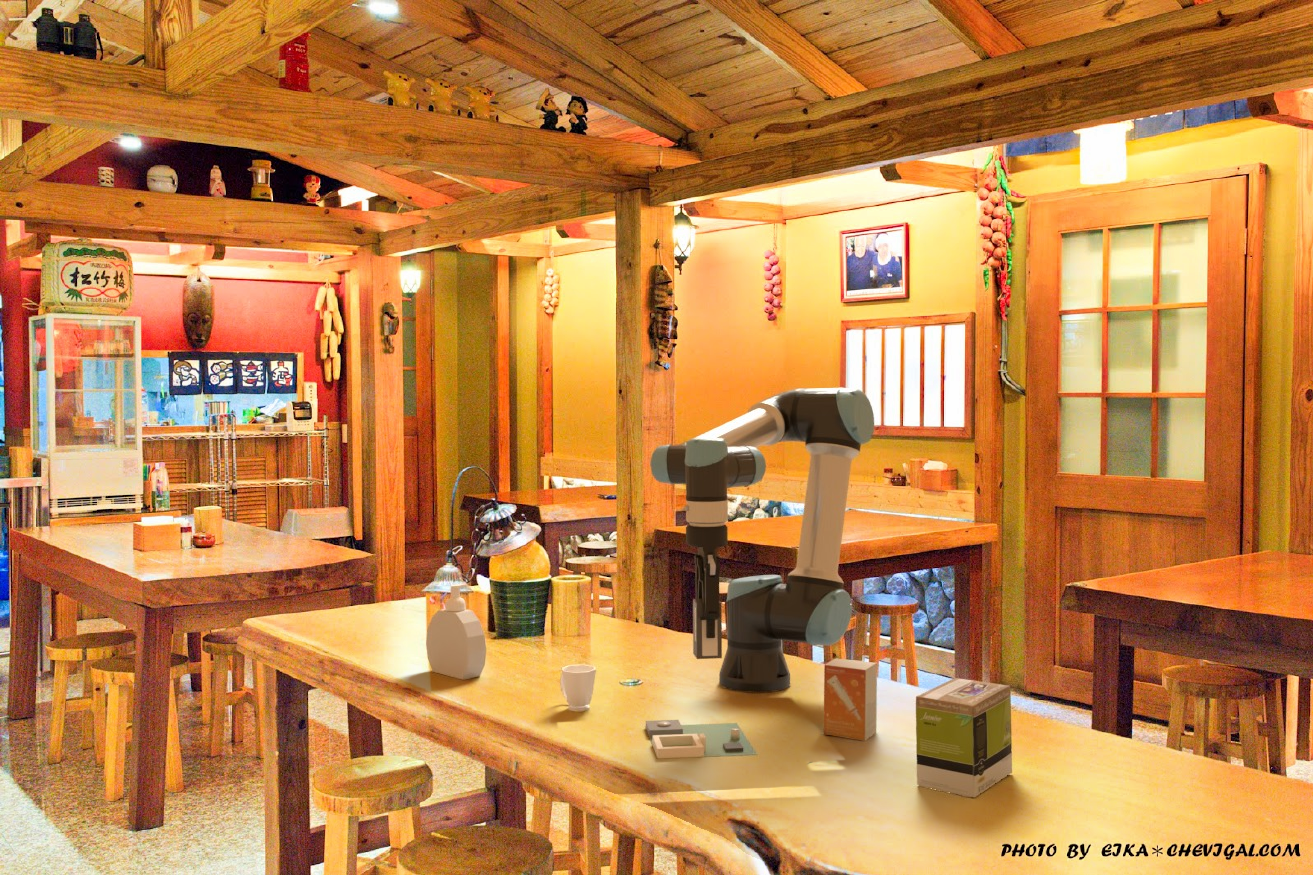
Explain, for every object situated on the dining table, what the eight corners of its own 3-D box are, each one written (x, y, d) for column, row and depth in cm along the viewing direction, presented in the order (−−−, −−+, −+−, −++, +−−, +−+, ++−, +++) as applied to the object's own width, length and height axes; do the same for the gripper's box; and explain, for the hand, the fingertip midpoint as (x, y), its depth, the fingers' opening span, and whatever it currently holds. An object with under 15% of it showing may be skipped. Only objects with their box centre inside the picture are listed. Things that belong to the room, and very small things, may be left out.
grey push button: (678, 733, 210) (678, 718, 210) (685, 748, 201) (685, 733, 201) (645, 734, 210) (645, 719, 209) (651, 750, 200) (651, 734, 200)
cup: (573, 715, 222) (572, 674, 222) (546, 704, 230) (546, 664, 230) (603, 709, 227) (603, 669, 226) (576, 699, 235) (576, 659, 234)
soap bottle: (488, 677, 253) (487, 587, 252) (469, 682, 249) (468, 590, 248) (445, 666, 264) (444, 580, 263) (425, 670, 260) (424, 582, 259)
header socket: (701, 742, 200) (701, 728, 200) (708, 756, 193) (708, 742, 193) (652, 744, 199) (652, 730, 199) (657, 758, 192) (657, 744, 192)
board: (736, 729, 212) (736, 714, 212) (757, 761, 194) (757, 745, 193) (645, 732, 211) (645, 717, 210) (657, 765, 192) (657, 749, 192)
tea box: (955, 762, 193) (955, 675, 192) (1013, 775, 186) (1014, 684, 186) (914, 786, 181) (914, 693, 181) (974, 800, 175) (975, 704, 174)
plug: (717, 652, 210) (717, 598, 210) (721, 658, 206) (721, 602, 205) (693, 653, 210) (692, 599, 209) (696, 659, 205) (696, 603, 205)
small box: (823, 735, 209) (823, 664, 208) (835, 726, 214) (835, 657, 214) (865, 741, 205) (866, 669, 204) (877, 732, 210) (877, 662, 210)
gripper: (679, 518, 215) (680, 642, 216) (693, 529, 198) (694, 664, 199) (718, 518, 216) (719, 641, 217) (736, 528, 199) (736, 662, 200)
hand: (707, 651), depth 208 cm, fingers closed on plug, 4 cm apart
